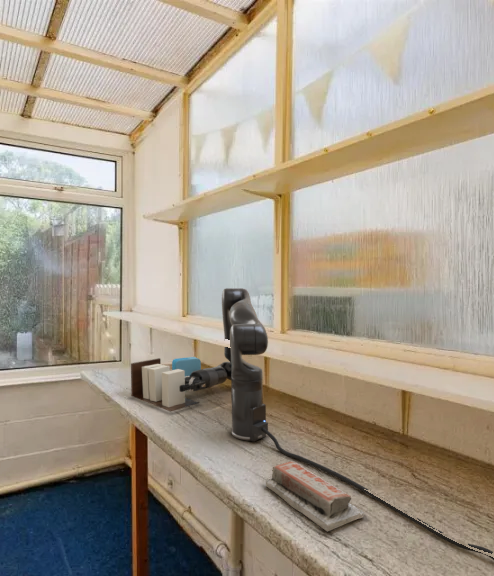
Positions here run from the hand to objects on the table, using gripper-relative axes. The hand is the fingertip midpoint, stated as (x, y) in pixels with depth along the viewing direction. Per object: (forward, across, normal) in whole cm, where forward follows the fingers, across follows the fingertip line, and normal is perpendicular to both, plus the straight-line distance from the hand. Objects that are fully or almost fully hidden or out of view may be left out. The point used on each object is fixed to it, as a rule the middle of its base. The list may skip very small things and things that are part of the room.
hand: (172, 386), depth 141 cm
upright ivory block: (-1, 0, +7) cm, 7 cm away
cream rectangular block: (-1, -8, +6) cm, 10 cm away
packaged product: (+17, +65, +8) cm, 68 cm away
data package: (-23, -18, +8) cm, 30 cm away
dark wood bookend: (-2, -7, +8) cm, 11 cm away
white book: (-1, -12, +6) cm, 14 cm away
